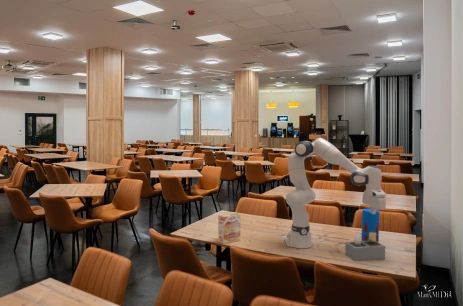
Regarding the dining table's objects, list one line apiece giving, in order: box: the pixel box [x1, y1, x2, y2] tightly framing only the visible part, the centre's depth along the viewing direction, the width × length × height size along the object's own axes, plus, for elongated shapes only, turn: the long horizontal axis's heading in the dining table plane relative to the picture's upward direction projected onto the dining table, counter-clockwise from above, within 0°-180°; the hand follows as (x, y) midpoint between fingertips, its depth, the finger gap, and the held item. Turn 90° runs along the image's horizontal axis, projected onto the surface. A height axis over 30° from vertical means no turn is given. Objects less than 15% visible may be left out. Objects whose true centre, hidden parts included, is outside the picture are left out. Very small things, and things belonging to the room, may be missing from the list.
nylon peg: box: [353, 232, 362, 245], centre depth 230 cm, size 4×4×8 cm
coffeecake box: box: [217, 212, 242, 245], centre depth 263 cm, size 15×7×20 cm, turn 126°
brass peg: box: [369, 232, 376, 244], centre depth 232 cm, size 4×4×8 cm
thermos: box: [361, 208, 380, 243], centre depth 250 cm, size 11×11×25 cm
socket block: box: [344, 240, 386, 262], centre depth 232 cm, size 20×12×8 cm, turn 101°
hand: (373, 213), depth 231 cm, fingers closed
